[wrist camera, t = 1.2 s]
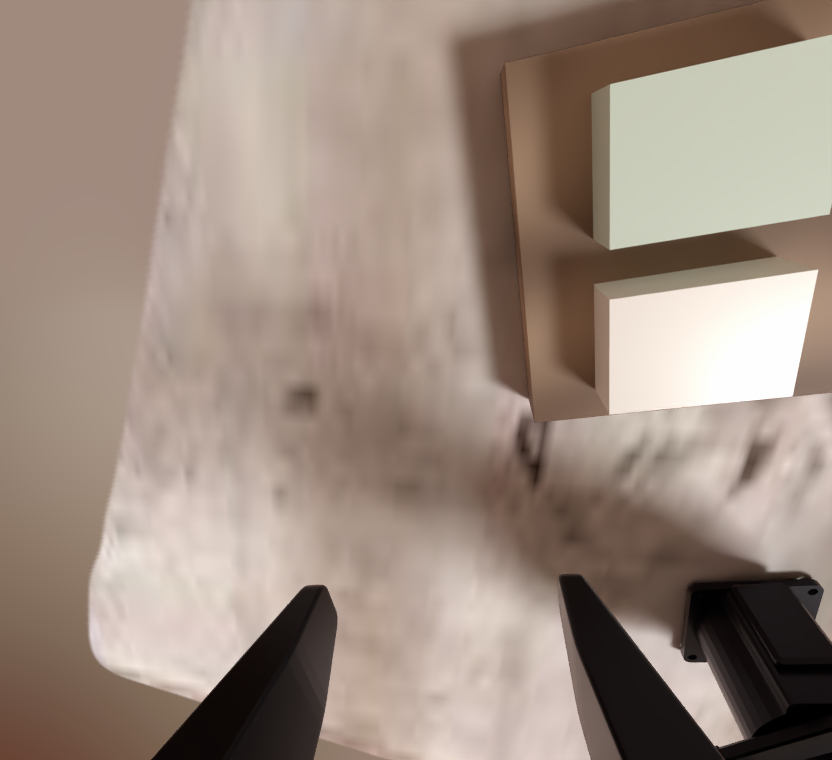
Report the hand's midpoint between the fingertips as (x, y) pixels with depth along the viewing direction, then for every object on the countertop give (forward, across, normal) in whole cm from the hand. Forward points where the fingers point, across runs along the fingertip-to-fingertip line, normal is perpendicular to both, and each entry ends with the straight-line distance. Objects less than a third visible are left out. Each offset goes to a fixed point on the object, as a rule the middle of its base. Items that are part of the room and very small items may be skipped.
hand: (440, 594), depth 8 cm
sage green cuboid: (+11, -8, -6) cm, 15 cm away
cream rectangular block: (+11, -8, 0) cm, 14 cm away
